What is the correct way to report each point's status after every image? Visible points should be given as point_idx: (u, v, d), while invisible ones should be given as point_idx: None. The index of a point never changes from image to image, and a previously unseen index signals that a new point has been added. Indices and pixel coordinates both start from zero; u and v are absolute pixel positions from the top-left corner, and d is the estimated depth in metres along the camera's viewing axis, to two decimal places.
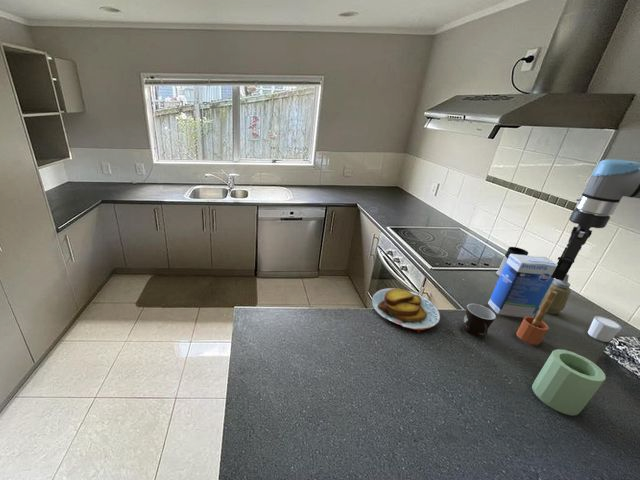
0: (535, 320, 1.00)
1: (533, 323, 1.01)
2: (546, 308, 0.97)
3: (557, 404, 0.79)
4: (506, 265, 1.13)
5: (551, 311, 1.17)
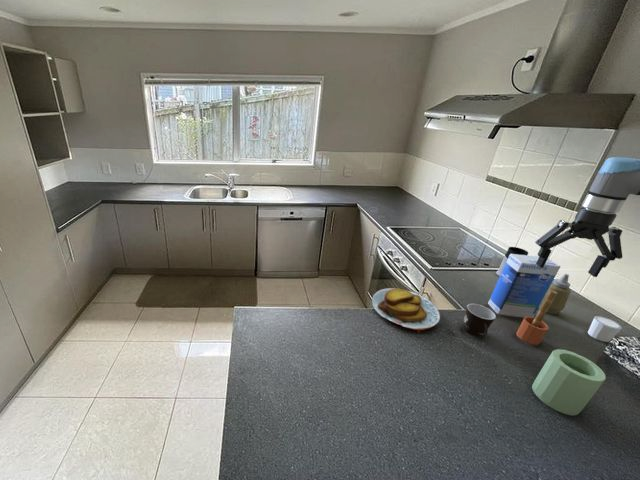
0: (535, 320, 1.00)
1: (533, 323, 1.01)
2: (546, 308, 0.97)
3: (557, 404, 0.79)
4: (506, 265, 1.13)
5: (551, 311, 1.17)
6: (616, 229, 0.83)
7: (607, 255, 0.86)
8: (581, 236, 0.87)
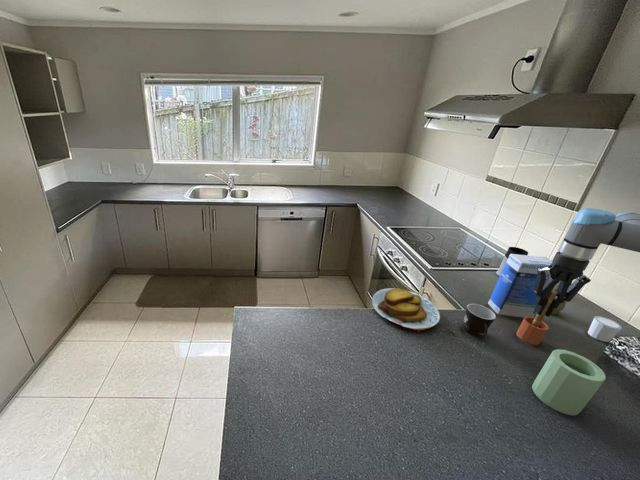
0: (535, 320, 1.00)
1: (533, 323, 1.01)
2: (546, 308, 0.97)
3: (557, 404, 0.79)
4: (506, 265, 1.13)
5: None
6: (587, 278, 0.90)
7: (560, 297, 0.94)
8: None
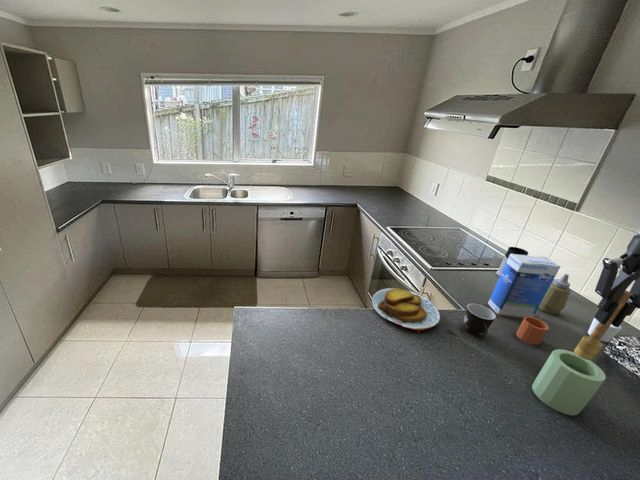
0: (596, 331, 0.73)
1: (593, 335, 0.73)
2: (614, 315, 0.70)
3: (557, 404, 0.79)
4: (506, 265, 1.13)
5: (551, 311, 1.17)
6: None
7: (637, 300, 0.67)
8: None
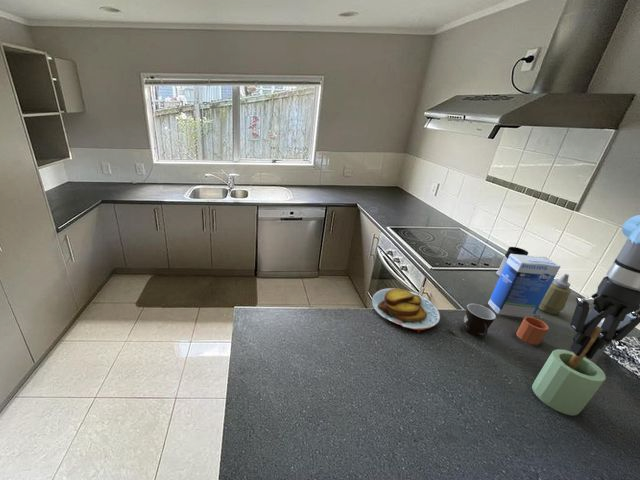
0: (572, 362, 0.79)
1: (569, 365, 0.80)
2: (587, 348, 0.76)
3: (557, 404, 0.79)
4: (506, 265, 1.13)
5: (551, 311, 1.17)
6: None
7: (607, 335, 0.73)
8: None
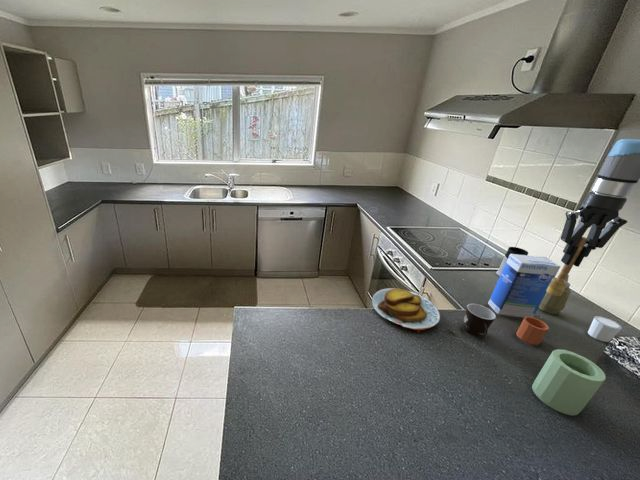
0: (562, 272, 0.92)
1: (560, 275, 0.93)
2: (575, 257, 0.89)
3: (557, 404, 0.79)
4: (506, 265, 1.13)
5: (551, 311, 1.17)
6: (622, 219, 0.82)
7: (591, 243, 0.86)
8: None
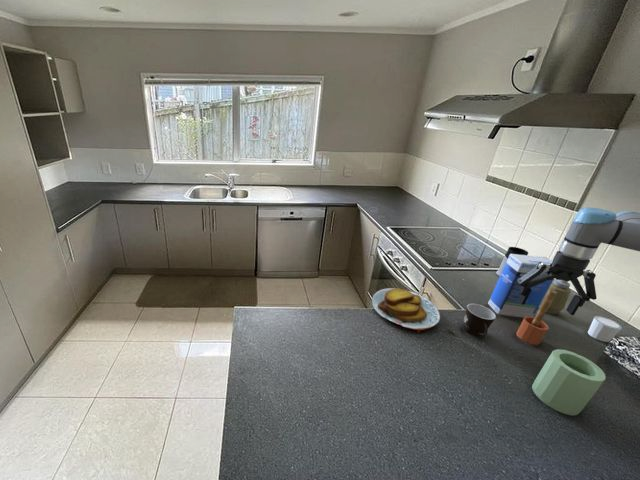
0: (535, 320, 1.00)
1: (533, 323, 1.01)
2: (546, 308, 0.97)
3: (557, 404, 0.79)
4: (506, 265, 1.13)
5: (551, 311, 1.17)
6: (590, 273, 0.90)
7: (582, 296, 0.92)
8: (558, 278, 0.93)
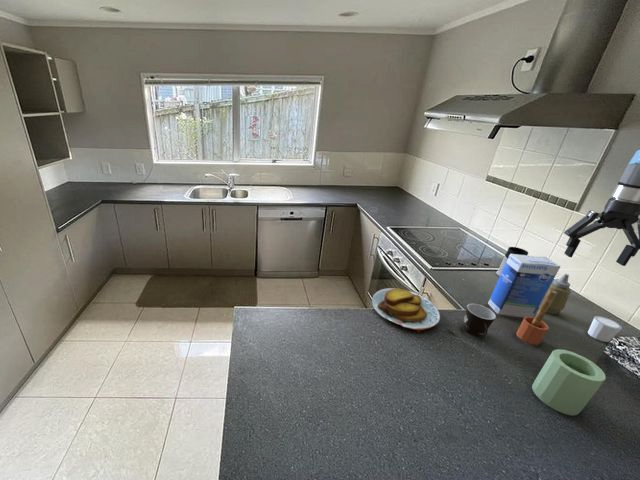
0: (535, 320, 1.00)
1: (533, 323, 1.01)
2: (546, 308, 0.97)
3: (557, 404, 0.79)
4: (506, 265, 1.13)
5: (551, 311, 1.17)
6: None
7: (636, 244, 0.89)
8: (611, 226, 0.89)
